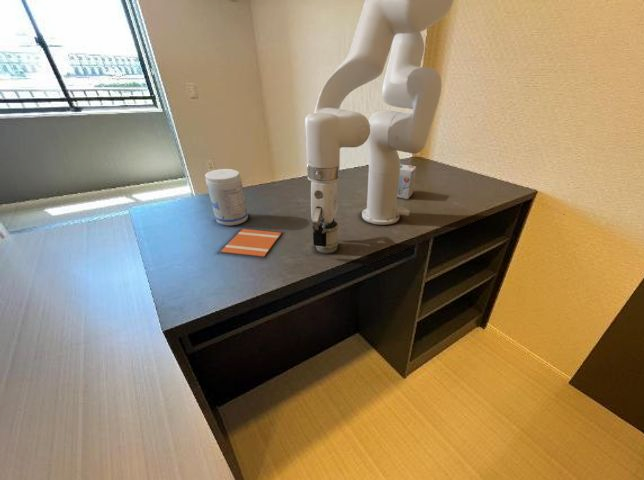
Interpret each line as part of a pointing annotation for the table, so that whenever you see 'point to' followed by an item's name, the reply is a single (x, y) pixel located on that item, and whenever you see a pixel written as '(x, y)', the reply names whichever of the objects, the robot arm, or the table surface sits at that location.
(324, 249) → the camera lens
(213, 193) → the supplement tub
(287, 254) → the table surface
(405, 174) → the light bulb box
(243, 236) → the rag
